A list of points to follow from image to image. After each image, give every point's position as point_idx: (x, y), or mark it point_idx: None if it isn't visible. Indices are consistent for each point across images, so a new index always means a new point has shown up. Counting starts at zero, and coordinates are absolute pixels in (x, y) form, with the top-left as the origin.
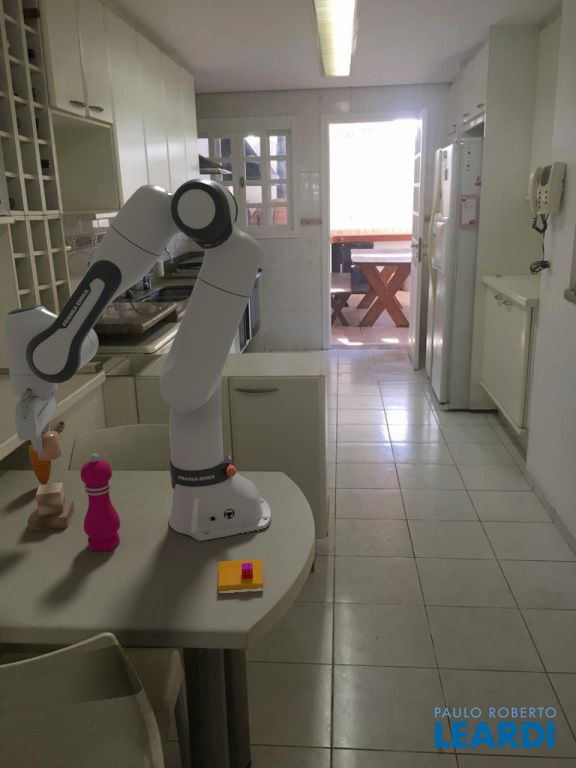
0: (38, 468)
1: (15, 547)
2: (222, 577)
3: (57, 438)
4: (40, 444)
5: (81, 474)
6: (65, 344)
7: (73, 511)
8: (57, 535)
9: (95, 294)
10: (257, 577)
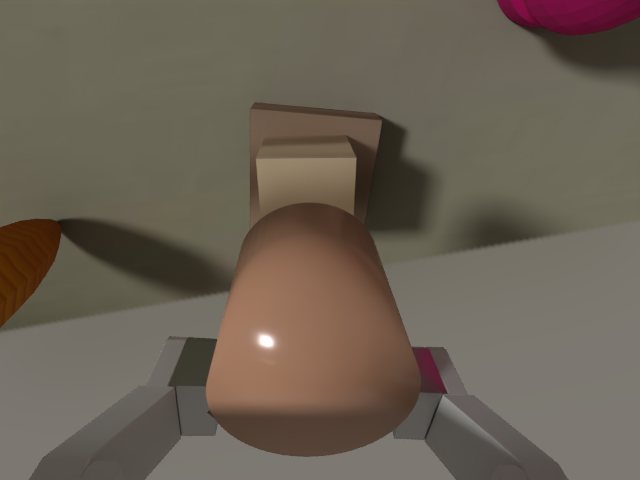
0: (39, 269)
1: (438, 237)
2: None
3: (346, 289)
4: (459, 388)
5: None
6: None
7: (270, 104)
8: (417, 139)
9: None
10: None
